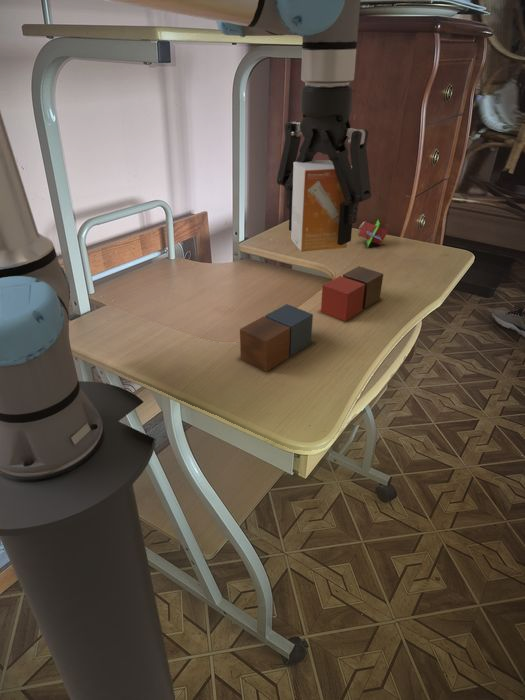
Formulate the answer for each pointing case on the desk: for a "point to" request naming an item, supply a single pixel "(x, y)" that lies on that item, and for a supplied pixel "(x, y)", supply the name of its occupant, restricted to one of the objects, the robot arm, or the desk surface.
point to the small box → (316, 206)
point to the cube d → (367, 283)
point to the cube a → (264, 343)
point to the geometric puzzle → (372, 232)
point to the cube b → (294, 325)
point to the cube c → (342, 298)
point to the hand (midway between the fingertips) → (319, 235)
